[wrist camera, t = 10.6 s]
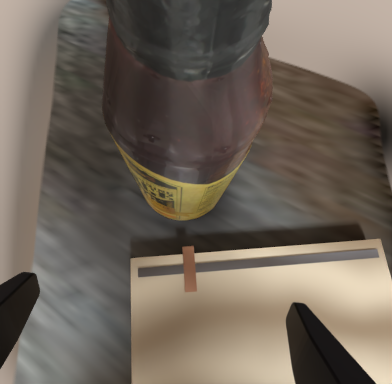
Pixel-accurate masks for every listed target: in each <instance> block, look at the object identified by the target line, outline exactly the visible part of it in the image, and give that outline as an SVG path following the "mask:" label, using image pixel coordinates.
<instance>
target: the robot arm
mask: <svg viewBox="0 0 392 384" xmlns="http://www.w3.org/2000/svg"><path fill="white" fill-rule="evenodd" d="M39 293H40V288H39V284H38V280H37V276H36V274H35V273H30V272H22V273H20V274H18V275H16V276H15V277H13V278H11V279H9V280H8V281H6V282H4V283H3V284H1V285H0V369H1V367H2V365H3V364H4V362H5V360H6V359H7V357H8V355H9V354H10V352H11V351H12V349H13V347H14V345H15V344H16V342H17V340H18V338H19V336H20V334H21V332H22V330H23V328H24V326H25V324H26V322H27V320H28V318H29V316H30V313H31V311H32V309H33V307H34V305H35V303H36V301H37V299H38V297H39ZM286 329H287V336H288V344H289V351H290V358H291V365H292V371H293V376H294V380H295V384H376V383H375V381H374V380H373V379H372V378H371V377H370V376H369V375H368V374H367V372H366V371H365V370H364V369H363V368H362V367H361V366H360V365H359V363H358V362H357V361H356V360H355V359H354V358H353V357H352V356H351V355H350V353H349V352H348V351H347V350H346V349H345V348H344V347H343V346H342V344H341V343H340V342H339V341H338V340H337V339H336V338H335V337H334V335H333V334H332V333H331V332H330V331H329V330H328V329H327V328H326V326H325V325H324V324H323V323H322V322H321V321H320V320H319V319H318V317H317V316H316V315H315V314H314V313H313V312H312V311H311V310H310V308H309V307H308V306H307V305H306V304H304V303H299V302H293V303H292V304H291V306H290V309H289V311H288V314H287V316H286Z"/></svg>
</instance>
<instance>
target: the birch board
mask: <svg viewBox="0 0 392 384" xmlns="http://www.w3.org/2000/svg"><path fill="white" fill-rule="evenodd" d="M182 250H183V254H179V255H166V256H154V257H141V258H131V367H132V384H295V380H294V376H293V371H292V365H291V358H290V351H289V344H288V336H287V329H286V316H287V314H288V311H289V309H290V306H291V304H292V303H293V302H299V303H304V304H306V305H307V306H308V307H309V308H310V310H311V311H312V312H313V313H314V314H315V315H316V316H317V317H318V319H319V320H320V321H321V322H322V323H323V324H324V325H325V326H326V328H327V329H328V330H329V331H330V332H331V333H332V334H333V335H334V337H335V338H336V339H337V340H338V341H339V342H340V343H341V344H342V346H343V347H344V348H345V349H346V350H347V351H348V352H349V353H350V355H351V356H352V357H353V358H354V359H355V360H356V361H357V362H358V363H359V365H360V366H361V367H362V368H363V369H364V370H365V371H366V372H367V374H368V375H369V376H370V377H371V378H372V379H373V380H374V381H375V383H376V384H392V280H391V276H390V273H389V269H388V265H387V262H386V258H385V254H384V251H383V247H382V243H381V240H380V239H372V240H359V241H346V242H333V243H320V244H307V245H295V246H282V247H269V248H256V249H243V250H231V251H218V252H205V253H194V246H186V247H182Z"/></svg>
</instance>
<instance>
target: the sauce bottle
mask: <svg viewBox="0 0 392 384" xmlns="http://www.w3.org/2000/svg"><path fill="white" fill-rule="evenodd" d="M106 4H107V8H108V12H109V23H108V33H107V45H106V58H105V71H104V84H103V98H102V111H103V116H104V120H105V124H106V126H107V128H108V130H109V132H110V134H111V136H112V138H113V140H114V142H115V144H116V146H117V147H118V149H119V151H120V153H121V154H122V156H123V158H124V160H125V162H126V164H127V166H128V168H129V170H130V171H131V173H132V175H133V177H134V179H135V181H136V182H137V184H138V186H139V188H140V190H141V192H142V193H143V195H144V197H145V199H146V201H147V202H148V204H149V205H150V206H151V207H152V208H153V209H154V210H155V211H156V212H158V213H159V214H161V215H163V216H165V217H166V218H169V219H174V220H191V219H196V218H199V217H201V216H202V215H204V214H206V213H207V212H209V211H210V210H211V209H213V208H214V206H215V205H216V203H217V202H218V200H219V199H220V197H221V196H222V194H223V193H224V191H225V190H226V188H227V187H228V185H229V183H230V182H231V180H232V178H233V177H234V175H235V173H236V172H237V170H238V168H239V167H240V165H241V164H242V162H243V160H244V159H245V157H246V155H247V154H248V152H249V150H250V147H251V144H252V141H253V139H254V138H255V136H256V135H257V134H258V132H259V130H260V128H261V126H262V124H263V122H264V120H265V118H266V115H267V112H268V109H269V106H270V104H271V102H272V99H273V98H272V89H273V87H272V71H271V65H270V62H269V58H268V56H269V53H268V51H267V49H266V46H265V44H264V41H263V37H262V35H263V33H264V32H265V30H266V28H267V26H268V24H269V14H270V11H271V7H272V0H106Z"/></svg>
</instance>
